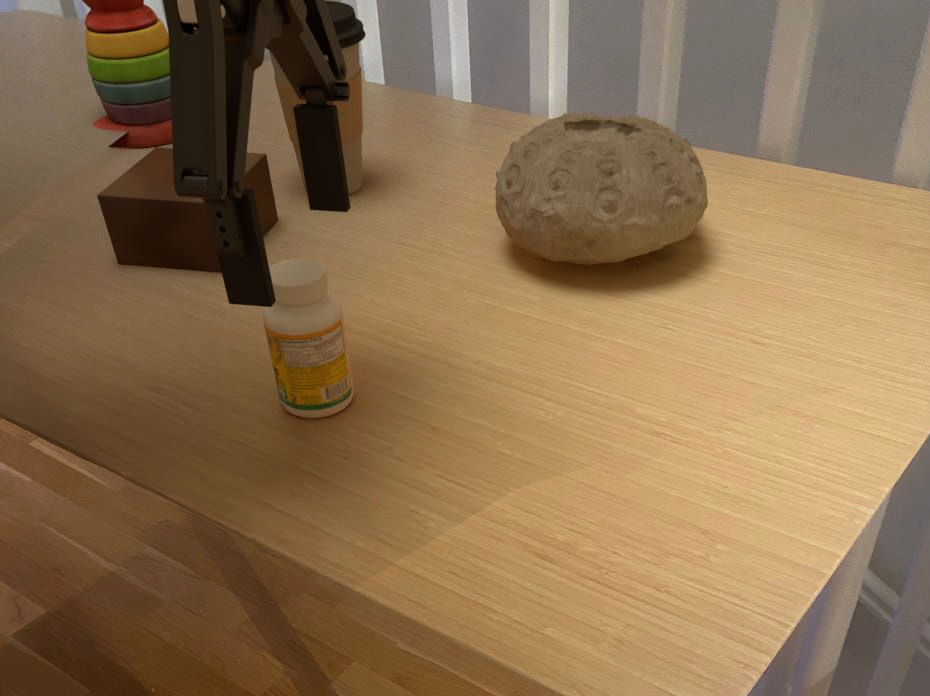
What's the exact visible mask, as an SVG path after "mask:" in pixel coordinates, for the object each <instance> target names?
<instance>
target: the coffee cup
mask: <svg viewBox="0 0 930 696" xmlns="http://www.w3.org/2000/svg"><path fill="white" fill-rule="evenodd" d="M325 1H326V4H327V7H328V10H329V13H330V17H331V20H332V23H333V26H334V29H335V32H336V35H337V39H338V42H339V45H340V48H341V51H342V54H343V57H344V61H345V64H346V68H347V76H346V79H345V81H337V82H348V83H349V87H350V98H349V100H348V102H343V101H333V103H334V105H337V112H338V119H339V127H340V134H341V141H342V149H343V156H344V163H345V171H346V178H347V185H348V193H349V196H350V195H352V194H355V193H356V192H358V191H359V190H360V189H361V188H362V186H363V143H362V141H363V140H362V139H363V138H362V136H363V133H364V126H363V125H364V123H363V122H364V121H363V119H364V118H363V81H362V67H361V63H360V42H362V41H363V40H364V39H365V38H366V31H365V30H364V24H363V22H362V20H360V19H358V18H357V16H356V11H355V9H354V7H353V6H352V5H351V4H348V3H345V2H341V1H335V0H325ZM265 50H268V53H269V57H270V59H271V64H272V68H273V72H274V73H273V74H274V75H273V80H274V82H275V86H276V90H277V95H278V98H279V102H280V106H281V110H282V113H283V117H284V120H285V121H284V122H285V125H286V129H287V133H288V137H289V140H290V142H291V143H292V146H293V150H294V154H295V159H296V161H297V166H298V170H299V173H300V176H301V180H302V184H303V188H304V191H305V192H306V193H307V189H306V183H305V177H304V171H303V165H302V159H301V153H300V147H299V141H298V135H297V129H296V123H295V117H294V111H293V107H294V106H295V105H296V104H306V100H300V99H299V97H298V96H297V94H296V92H295V91H294V89H293V87H292V86H291V84H290V82H289V81H288V79H287V77H286V76H285V74H284V72H283V71H282V69H281V67H280V66H279V64H278V62H277V61H276V59H275V57H274V56H273V54H272V52H271V50H270V49H269V47H268V45H267V47H265ZM324 57H325V59H328V57H327V55H324Z"/></svg>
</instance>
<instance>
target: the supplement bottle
mask: <svg viewBox="0 0 930 696" xmlns="http://www.w3.org/2000/svg"><path fill="white" fill-rule="evenodd" d="M269 270H270V274H271V279H272V284H273V289H274V294H275V299H276V302H275V303H274V304H273V306H272V307H264V308H263V310H262V319H263V320H262V321H263V325H264V329H265V335H266V340H267V344H268V345H267V346H268V350H269V354H270V360H271V363H272V364H271V365H272V369H273V375H274V379H275V383H276V388H277V394H278V398H279V401H280V403H281V406H283V408H284V409H286V410H287V411H288V412H289V413H290V414H292V415H294V416H297V417H300V418H306V419H318V418H325V417H330V416H332V415H335V414H337V413H339V412H341V411H343V410H345V408H347V406H349V405H350V403H351V402H352V400H353V397H354V393H355V392H354V382H353V377H352V371H351V362H350V355H349V349H348V341H347V335H346V327H345V321H344V313H343V308H342V304H341V303H340V301H339V299H338V298H337V297H336V296H335V295H334V293H333V294H332V293H331V292H330V291H329V287H330V286H329V284H330V282H329V280H328V279H329V278H328V273H327V268H326V266H325V265H324V264H323V263H322V262H320V261H318V260H315V259H311V258H310V259H309V258H291V259H285V260H282V261H279V262H276V263H274V264H272V265H271V266H269Z"/></svg>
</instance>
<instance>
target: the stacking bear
mask: <svg viewBox="0 0 930 696" xmlns="http://www.w3.org/2000/svg"><path fill="white" fill-rule="evenodd" d="M81 1H82V2H83V3H84V4H85V5H86V6H87V7H88V8H89V9H90V10H89V11H88V12H87V13H86V16H85V19H84V26H85V31H84V39H85V48H86V55H85V56H86V64H87V69H88V73H89V75H90V76H91V77H90V79H91V82H92V84H93V87H94V89H95V92H96V95H97V96H98V97H99V100H100V103H101V105H102V108H103V109H104V111H105V113H106V115H104V116H102V117H100V118H98V119H96V120H95V121H94V122H93V123H92V126H93V127H94V128H96V129H101V130H105V131H106V130H107V131H117V132H125V133H124V134H123V135H121V136H120V137H119V138H118V139H116V140H115V141H113V142H112V143H111V144H109V145H108V148H117V149H118V148H119V149H135V148H148V147H157V146H161V145H166V144H169V143H172V118H171V90H170V62H169V34H168V29H167V28H166V26H165V24H164V22H163V20H162V19H161V18H160V17H158V15H157V14H156V12H155V11H154V10H153V9H152V8H151V7H150V6H148V5H146V4H145V0H81Z"/></svg>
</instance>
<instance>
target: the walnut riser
mask: <svg viewBox="0 0 930 696" xmlns="http://www.w3.org/2000/svg"><path fill="white" fill-rule="evenodd" d="M267 156H268V155H267V153H260V152H259V153H258V152H247V156H246V167H245V178H244V189H253V191H254V196H255V201H256V206H257V211H258V216H259V221H260V225H261V230H262V235H263V237H265V236H266V235H267V233H269V231H270V230H271V229H272V228H273V227H274V225H275V224H277V222H278V221H279V216H278V211H277V205H276V200H275V194H274V189H273V184H272V178H271V172H270V167H269V166H270V165H269V160H268V157H267ZM96 197H97V198H96V199H97V201H98V204H99V207H100V210H101V213H102V217H103V220H104V222H105V226H106V229H107V233H108V235H109V239H110V242H111V246H112V248H113V252H114V255H115V259H116V262H117V264H124V265H132V266H133V265H134V266H147V267H157V268H169V269H170V268H171V269H180V270H181V269H182V270H191V271H192V270H194V271H204V272H206V271H207V272H218V273H222V272H221V268H220V264H219V260H218V256H217V251H216V247H215V243H214V239H213V235H212V231H211V227H210V222H209V218H208V214H207V210H206V206H205V203H204V201H203V200H202V199H201V198H189V197H179V196H178V195H177V193H176V191H175V188H174V174H173V147H159V146H158V147H157V146H155V148H153V149H152V150H151V151H149V152H148V153H147V154H146V155H144V156H143V157H142V158H141V159H139V160H138V161H137V162H135V164H133V165H132V166H131V167H129V169H127V170H126V171H124V173H122V174H121V175H120V176H118V177H117V178H116V179H114V180H113V182H111V183H110V184H109V185H108V186H107V187H105V188H104V189H103V190H101V191H100V192H99V193H98V194H97V195H96Z"/></svg>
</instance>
